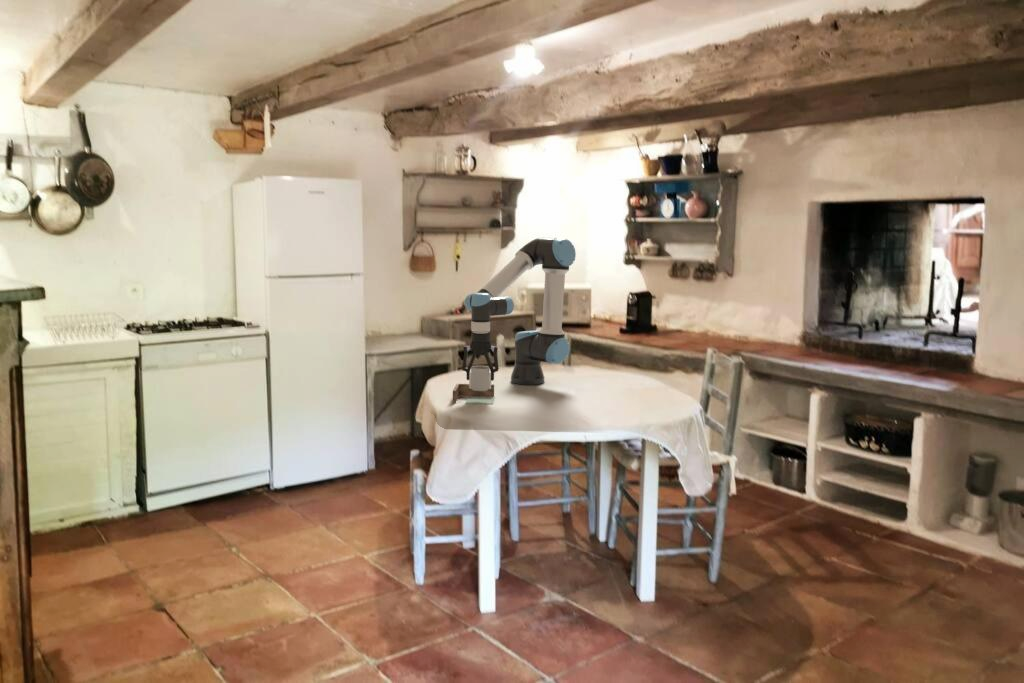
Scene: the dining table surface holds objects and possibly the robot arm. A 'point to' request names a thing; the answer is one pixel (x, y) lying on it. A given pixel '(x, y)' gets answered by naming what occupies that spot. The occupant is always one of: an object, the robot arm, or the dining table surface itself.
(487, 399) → the mat
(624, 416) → the dining table surface
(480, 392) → the corner walls
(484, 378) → the cup
